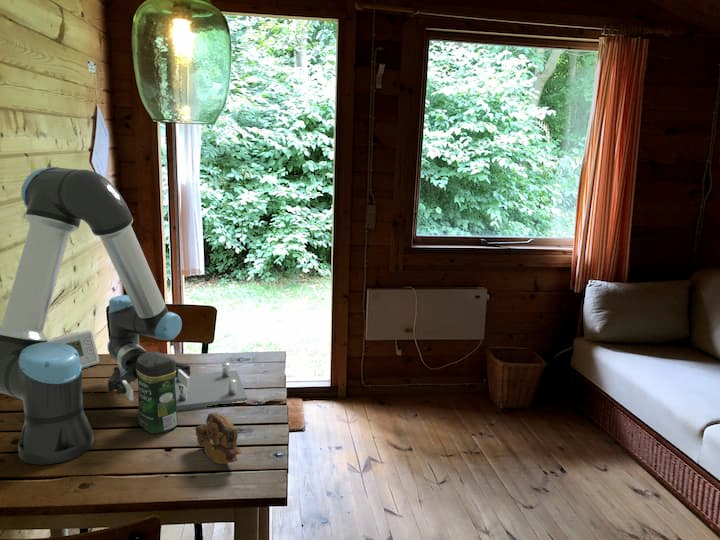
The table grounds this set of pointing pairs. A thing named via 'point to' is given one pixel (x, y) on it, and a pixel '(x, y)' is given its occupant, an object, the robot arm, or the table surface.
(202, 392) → the base plate
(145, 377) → the coffee jar
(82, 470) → the table surface
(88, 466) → the table surface
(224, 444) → the wooden carving
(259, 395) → the table surface
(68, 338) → the digital clock
